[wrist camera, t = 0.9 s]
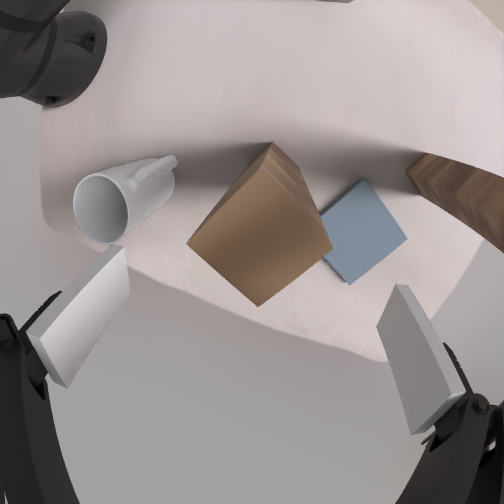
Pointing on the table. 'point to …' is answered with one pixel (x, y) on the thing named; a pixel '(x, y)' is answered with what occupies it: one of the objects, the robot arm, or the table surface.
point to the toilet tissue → (344, 0)
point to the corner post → (263, 228)
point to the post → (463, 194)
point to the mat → (359, 232)
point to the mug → (122, 197)
